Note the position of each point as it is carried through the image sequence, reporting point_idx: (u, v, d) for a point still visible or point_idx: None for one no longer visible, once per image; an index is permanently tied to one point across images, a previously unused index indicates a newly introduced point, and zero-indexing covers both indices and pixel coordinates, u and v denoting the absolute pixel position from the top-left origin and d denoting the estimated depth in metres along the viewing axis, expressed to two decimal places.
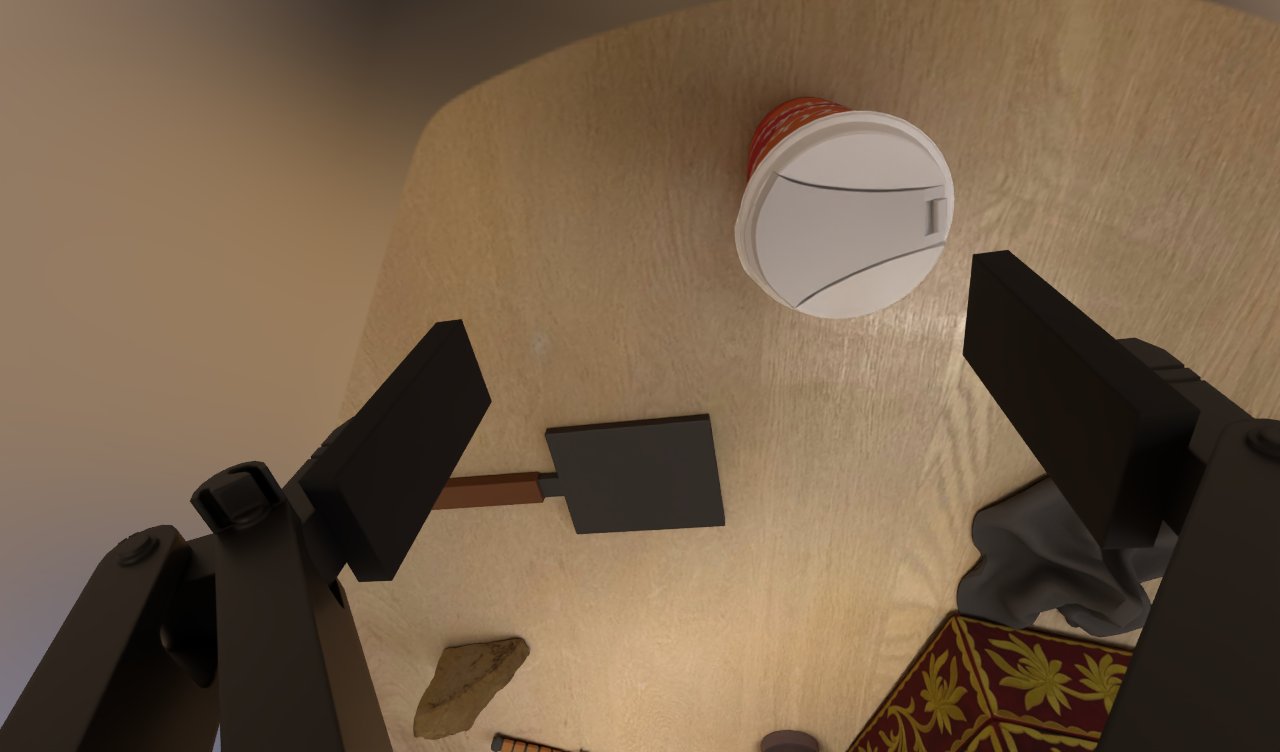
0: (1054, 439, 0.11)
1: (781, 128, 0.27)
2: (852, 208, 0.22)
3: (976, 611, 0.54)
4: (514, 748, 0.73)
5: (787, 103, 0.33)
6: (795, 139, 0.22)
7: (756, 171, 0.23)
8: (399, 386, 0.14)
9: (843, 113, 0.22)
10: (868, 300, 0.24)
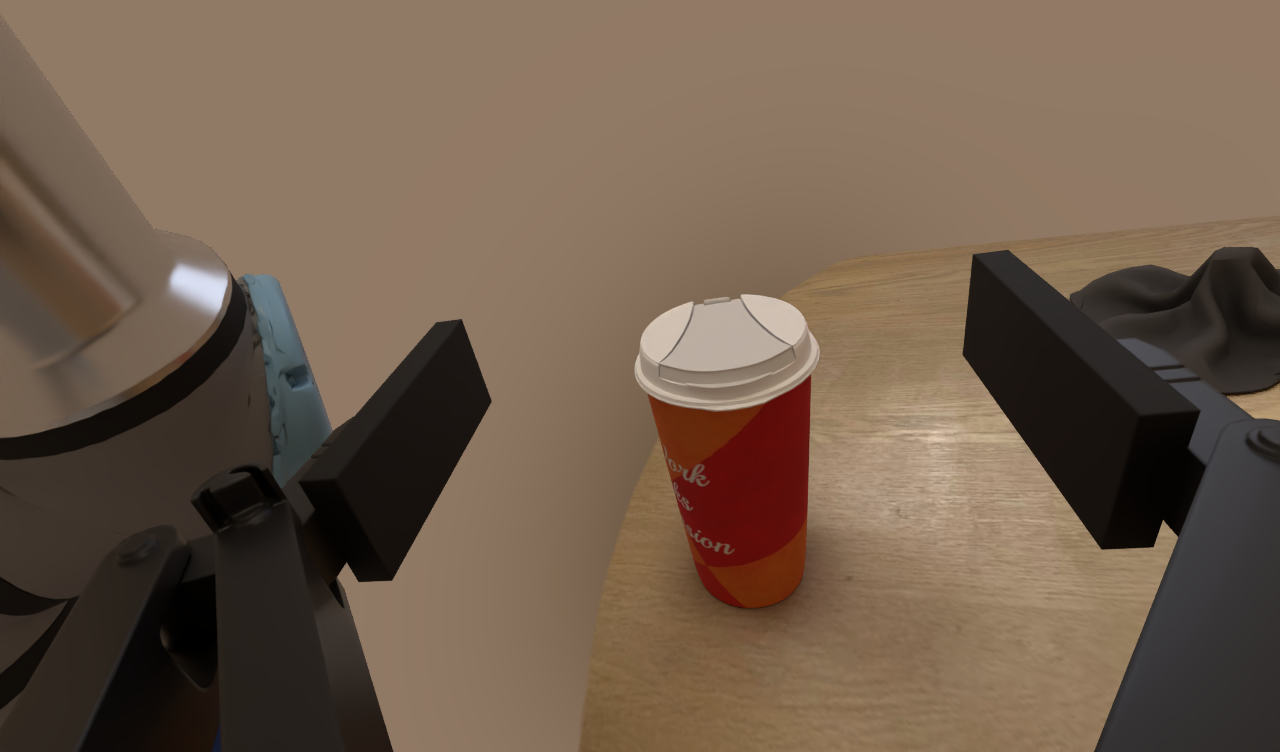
0: (1054, 440, 0.11)
1: (670, 467, 0.29)
2: (699, 330, 0.27)
3: None
4: None
5: None
6: (643, 378, 0.26)
7: (663, 399, 0.25)
8: (399, 386, 0.14)
9: (635, 363, 0.28)
10: (786, 314, 0.27)
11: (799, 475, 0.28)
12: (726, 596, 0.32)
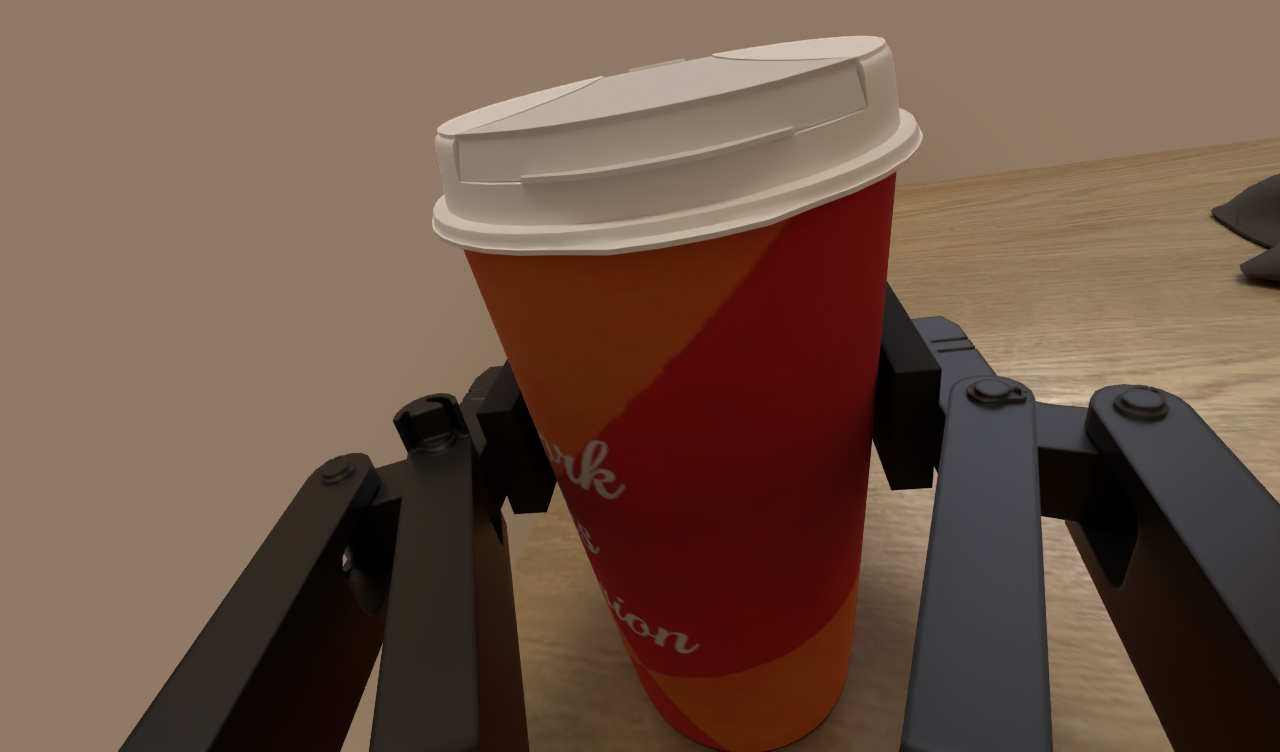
0: None
1: None
2: (597, 90, 0.10)
3: None
4: None
5: None
6: (442, 209, 0.10)
7: (469, 241, 0.08)
8: None
9: None
10: (826, 42, 0.10)
11: (856, 470, 0.11)
12: (688, 728, 0.15)
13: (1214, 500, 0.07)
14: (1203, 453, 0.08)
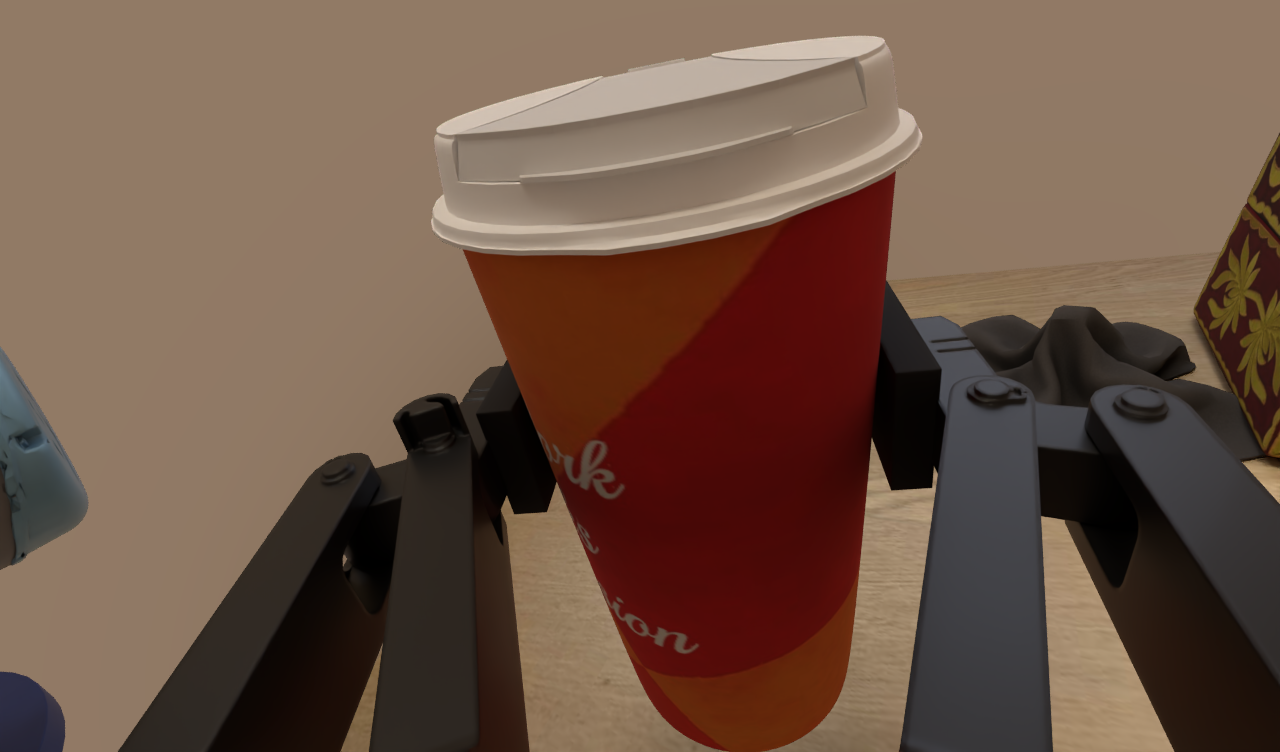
0: None
1: (545, 452, 0.12)
2: (597, 90, 0.10)
3: (1241, 439, 0.36)
4: None
5: None
6: (441, 209, 0.10)
7: (468, 241, 0.08)
8: None
9: None
10: (825, 43, 0.10)
11: (856, 470, 0.11)
12: (688, 728, 0.15)
13: (1214, 500, 0.07)
14: (1203, 453, 0.08)
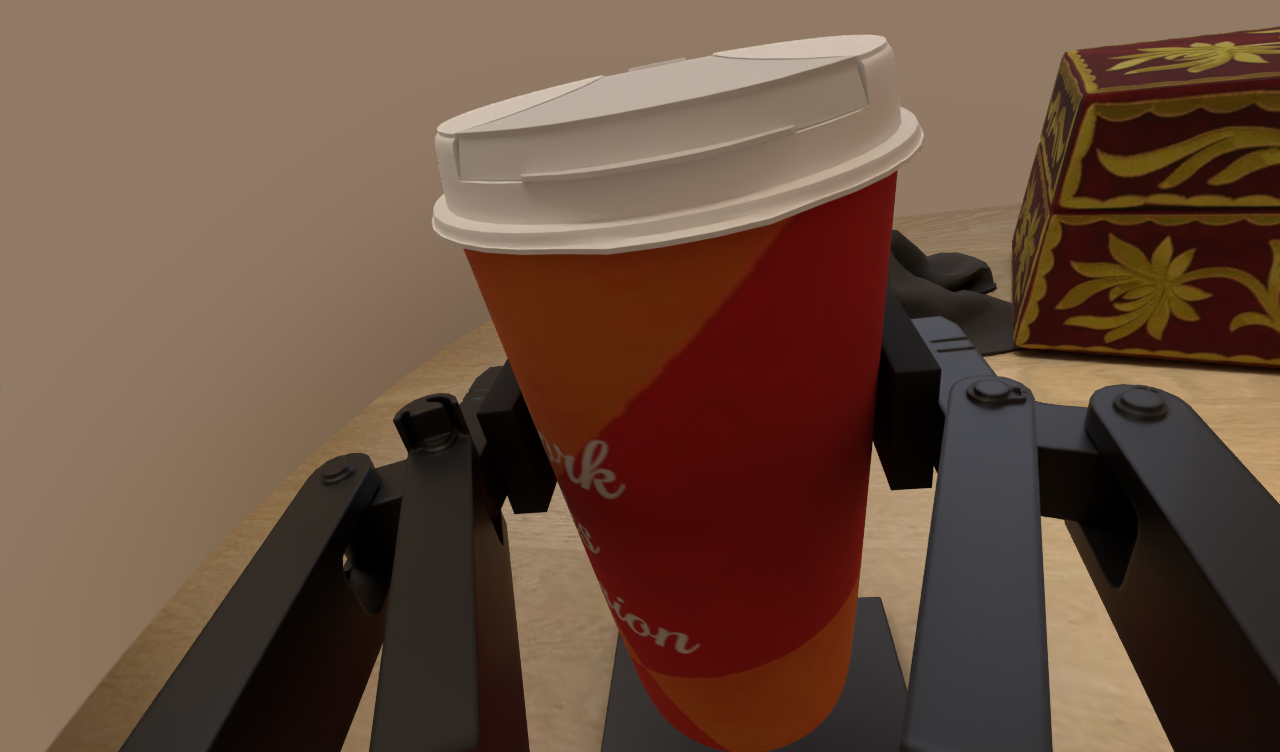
0: None
1: None
2: (597, 89, 0.10)
3: (1004, 337, 0.41)
4: None
5: None
6: (442, 208, 0.10)
7: (469, 240, 0.08)
8: None
9: None
10: (827, 41, 0.10)
11: (857, 470, 0.11)
12: (689, 728, 0.15)
13: (1214, 500, 0.07)
14: (1202, 453, 0.08)
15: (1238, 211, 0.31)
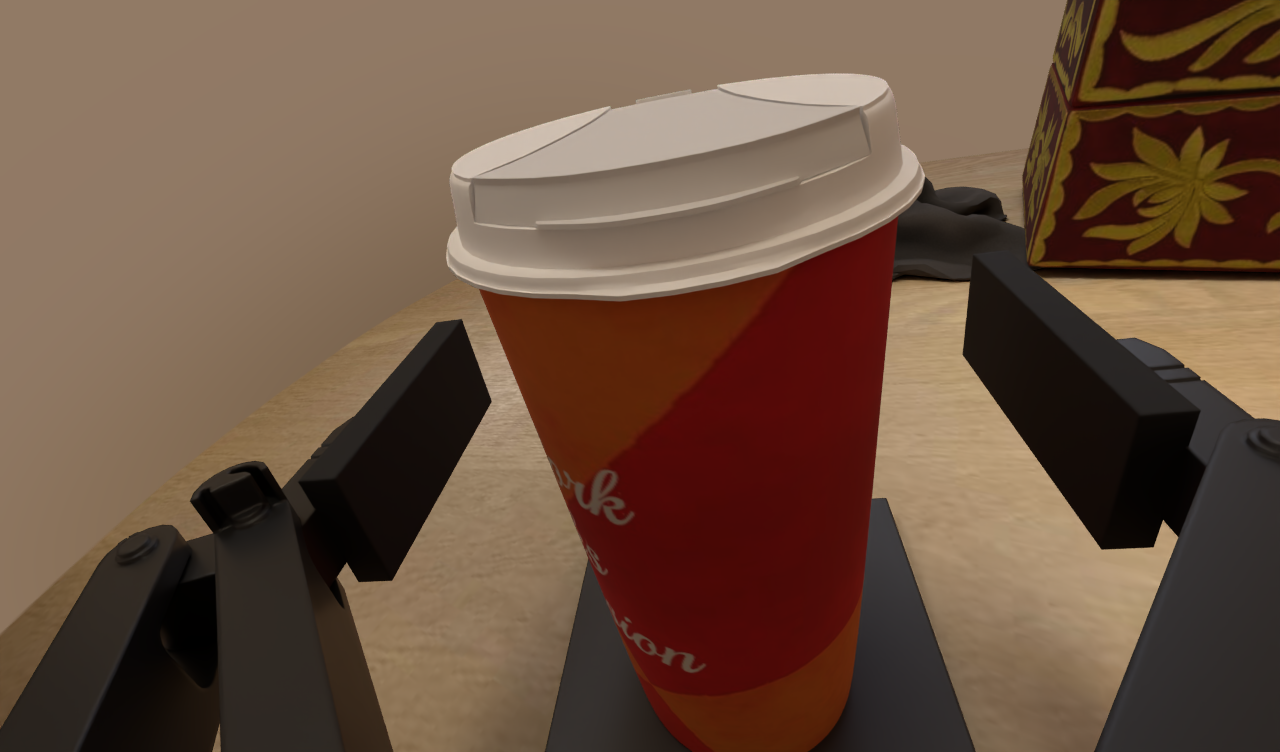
0: (1054, 440, 0.11)
1: (555, 476, 0.12)
2: (607, 127, 0.10)
3: None
4: None
5: None
6: (456, 245, 0.10)
7: (485, 282, 0.09)
8: (399, 386, 0.14)
9: None
10: (830, 82, 0.10)
11: (860, 495, 0.11)
12: (694, 743, 0.15)
13: None
14: None
15: (1278, 92, 0.28)
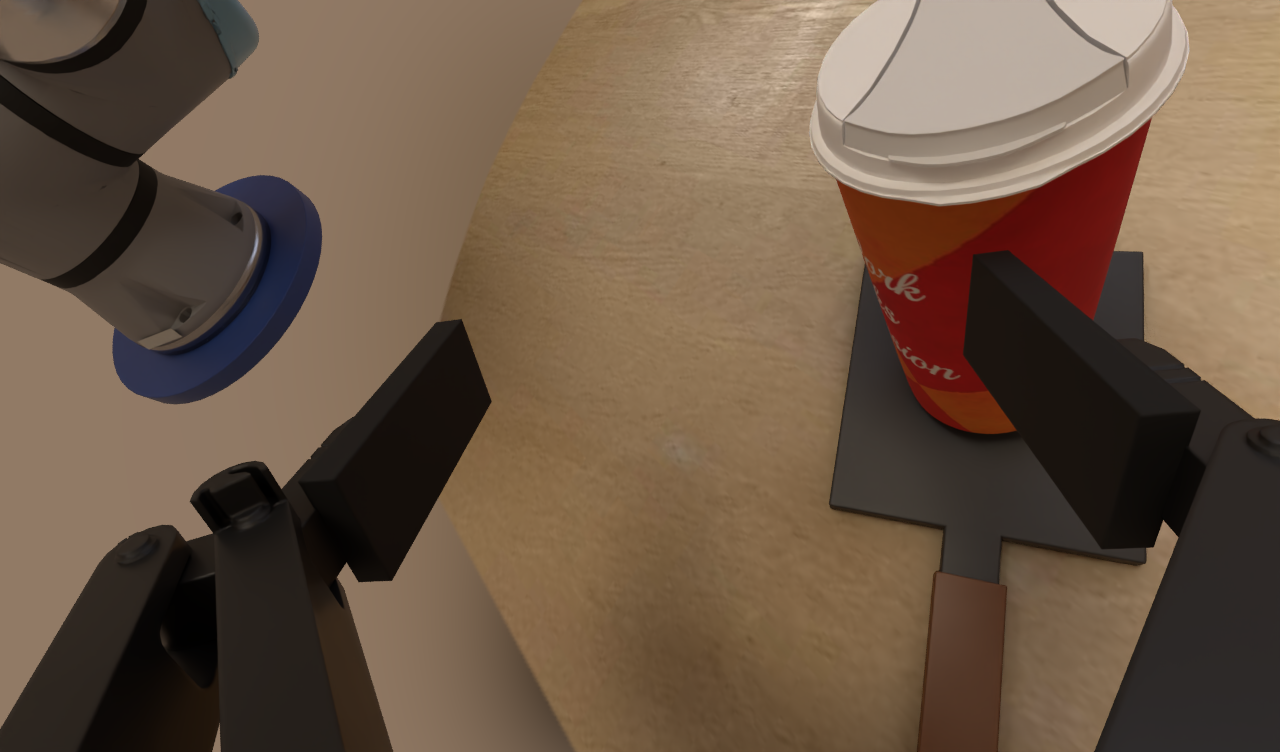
0: (1054, 440, 0.11)
1: (867, 266, 0.20)
2: (927, 39, 0.15)
3: None
4: None
5: None
6: (821, 143, 0.16)
7: (850, 182, 0.15)
8: (399, 386, 0.14)
9: (813, 111, 0.18)
10: None
11: (1091, 280, 0.17)
12: (944, 418, 0.24)
13: None
14: None
15: None
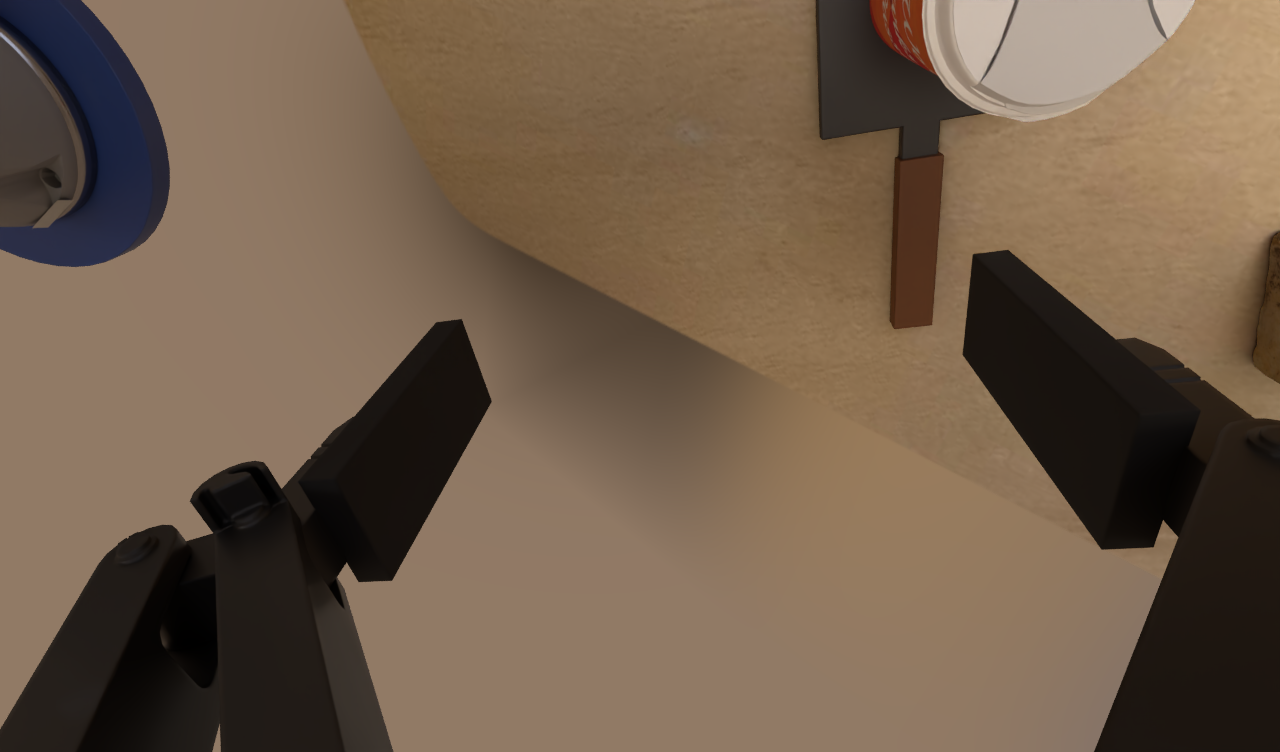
0: (1054, 440, 0.11)
1: (913, 50, 0.25)
2: None
3: None
4: None
5: (875, 19, 0.31)
6: (941, 60, 0.21)
7: (965, 101, 0.21)
8: (399, 386, 0.14)
9: (924, 5, 0.20)
10: None
11: None
12: None
13: None
14: None
15: None
